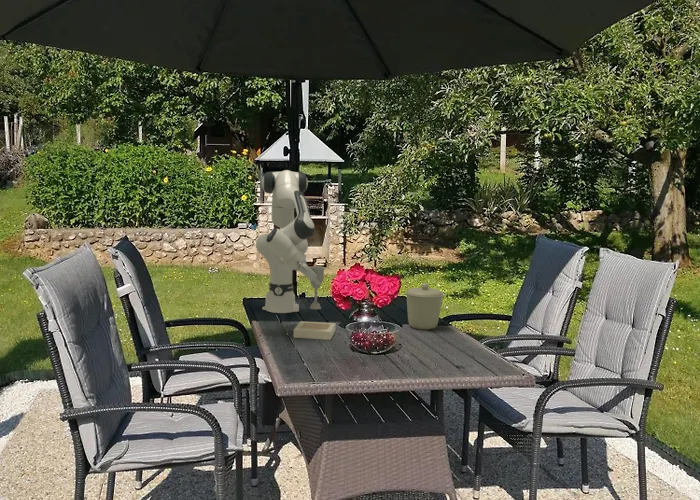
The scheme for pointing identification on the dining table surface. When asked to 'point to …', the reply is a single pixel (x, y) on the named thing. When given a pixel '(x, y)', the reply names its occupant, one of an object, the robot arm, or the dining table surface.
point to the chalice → (320, 276)
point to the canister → (423, 307)
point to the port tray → (314, 330)
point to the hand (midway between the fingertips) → (317, 282)
